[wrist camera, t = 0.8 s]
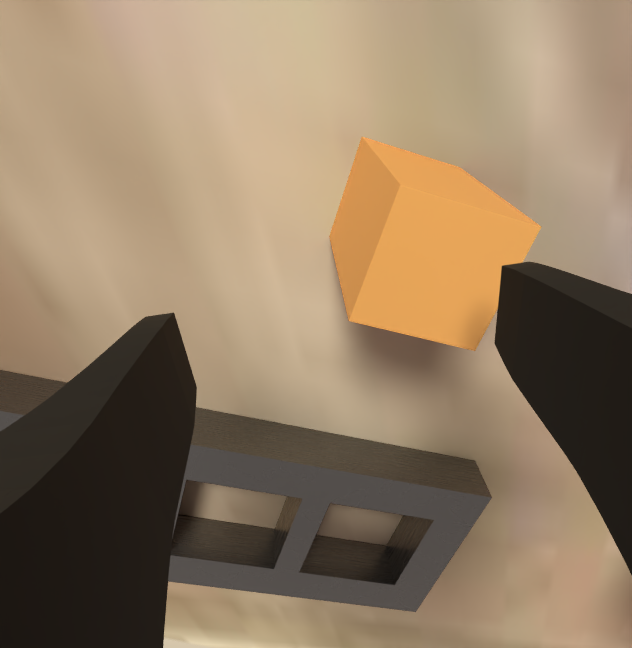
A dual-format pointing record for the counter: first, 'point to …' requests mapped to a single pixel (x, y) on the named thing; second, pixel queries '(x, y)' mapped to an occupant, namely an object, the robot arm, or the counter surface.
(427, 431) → the counter surface
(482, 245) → the square block
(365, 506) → the gray board with holes
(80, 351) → the counter surface
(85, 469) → the robot arm
